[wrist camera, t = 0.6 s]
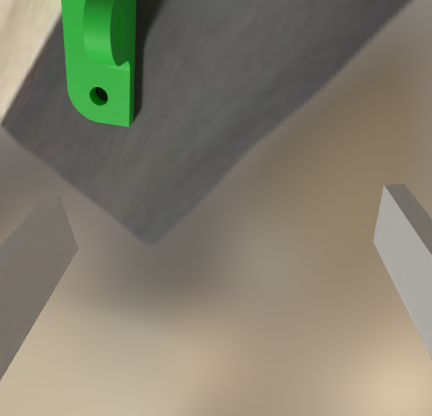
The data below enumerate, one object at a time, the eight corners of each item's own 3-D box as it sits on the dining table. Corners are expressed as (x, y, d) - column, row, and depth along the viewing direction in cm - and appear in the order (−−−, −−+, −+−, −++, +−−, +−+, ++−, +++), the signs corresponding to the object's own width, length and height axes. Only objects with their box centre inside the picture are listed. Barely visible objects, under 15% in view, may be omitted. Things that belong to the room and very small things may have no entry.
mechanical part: (69, -22, 32) (23, -24, 25) (137, -11, 32) (109, -9, 26) (77, 111, 39) (42, 139, 32) (134, 120, 39) (111, 150, 32)
